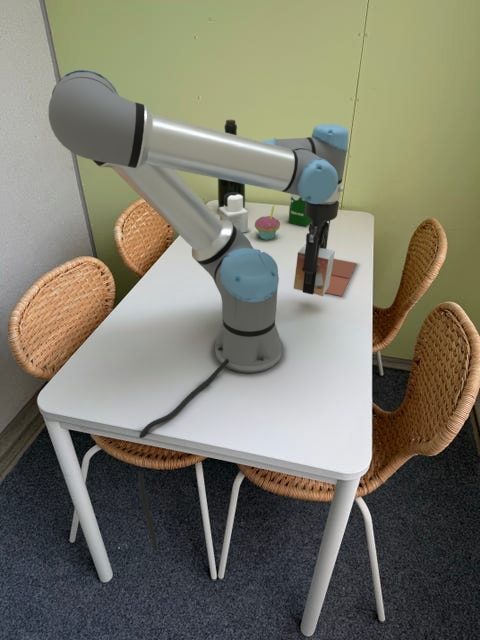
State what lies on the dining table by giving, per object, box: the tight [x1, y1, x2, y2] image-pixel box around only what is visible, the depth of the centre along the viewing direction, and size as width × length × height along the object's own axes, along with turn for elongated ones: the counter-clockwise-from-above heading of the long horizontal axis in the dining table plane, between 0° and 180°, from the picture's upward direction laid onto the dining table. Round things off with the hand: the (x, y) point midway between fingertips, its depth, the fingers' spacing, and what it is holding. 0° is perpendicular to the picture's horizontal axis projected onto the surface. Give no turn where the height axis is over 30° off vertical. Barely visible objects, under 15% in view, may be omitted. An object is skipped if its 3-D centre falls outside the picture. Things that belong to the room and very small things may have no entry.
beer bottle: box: [217, 119, 246, 211], centre depth 162 cm, size 10×10×33 cm
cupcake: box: [254, 204, 281, 241], centre depth 149 cm, size 9×8×12 cm
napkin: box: [324, 258, 357, 297], centre depth 130 cm, size 20×12×1 cm, turn 157°
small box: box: [293, 243, 336, 297], centre depth 110 cm, size 8×6×10 cm
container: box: [218, 192, 249, 234], centre depth 153 cm, size 8×8×13 cm
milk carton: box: [288, 193, 312, 227], centre depth 157 cm, size 9×9×20 cm
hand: (311, 286), depth 113 cm, fingers closed on small box, 6 cm apart
